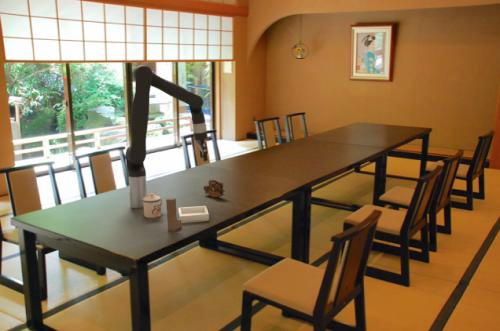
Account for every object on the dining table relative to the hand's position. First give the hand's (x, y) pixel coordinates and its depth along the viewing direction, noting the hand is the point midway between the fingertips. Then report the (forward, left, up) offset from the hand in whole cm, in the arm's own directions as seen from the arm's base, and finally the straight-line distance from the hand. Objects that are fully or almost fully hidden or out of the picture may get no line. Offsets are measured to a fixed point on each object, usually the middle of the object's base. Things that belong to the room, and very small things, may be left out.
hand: (204, 159), depth 278 cm
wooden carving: (+5, 0, -23) cm, 23 cm away
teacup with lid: (-29, -24, -23) cm, 44 cm away
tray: (-10, -34, -22) cm, 42 cm away
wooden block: (-20, -48, -23) cm, 57 cm away
